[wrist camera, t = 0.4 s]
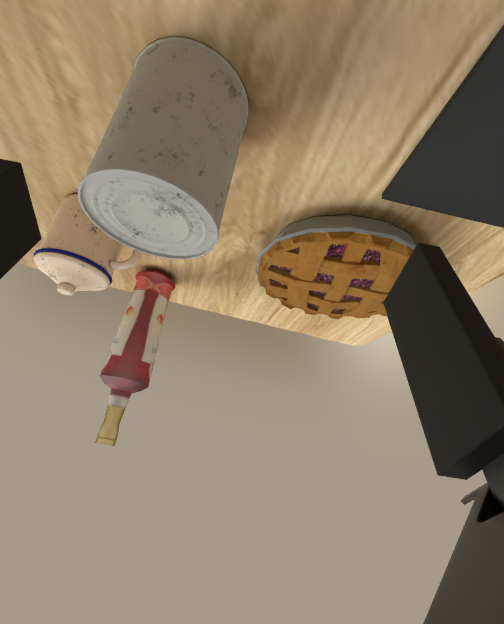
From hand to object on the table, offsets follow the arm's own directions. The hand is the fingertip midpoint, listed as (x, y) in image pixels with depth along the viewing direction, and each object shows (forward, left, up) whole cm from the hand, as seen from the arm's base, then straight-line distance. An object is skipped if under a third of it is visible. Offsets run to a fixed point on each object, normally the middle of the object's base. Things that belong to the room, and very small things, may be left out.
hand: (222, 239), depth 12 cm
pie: (+28, +14, -19) cm, 37 cm away
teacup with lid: (+30, -18, -19) cm, 40 cm away
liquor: (+46, -13, -19) cm, 51 cm away
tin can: (+10, -6, -19) cm, 23 cm away
